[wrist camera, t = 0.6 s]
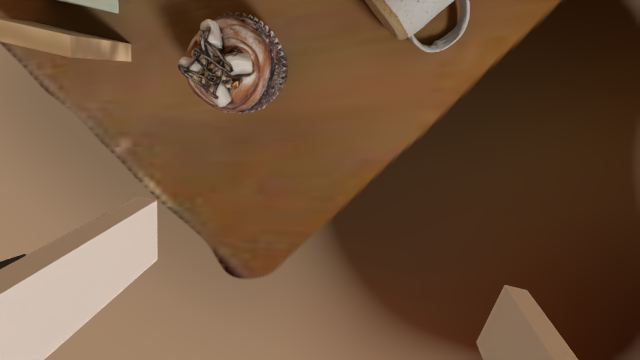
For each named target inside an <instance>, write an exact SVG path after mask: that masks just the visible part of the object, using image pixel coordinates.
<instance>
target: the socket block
mask: <svg viewBox="0 0 640 360" xmlns="http://www.w3.org/2000/svg"><path fill="white" fill-rule="evenodd" d="M58 1H62V2H67V3H71V4H76V5H81V6H85V7H90V8H94V9H99V10H104V11H108V12H113V13H117V14H119V5H118V0H58Z"/></svg>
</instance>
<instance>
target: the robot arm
mask: <svg viewBox="0 0 640 360" xmlns="http://www.w3.org/2000/svg"><path fill="white" fill-rule="evenodd" d="M156 260H157V200H154V199H149V198H145V197H141V196H137V197H135V198H133V199H132V200H130V201H128V202H126V203H124V204H122V205H120V206H118V207H117V208H115V209H113V210H111V211H109V212H107V213H105V214H103V215H102V216H100V217H98V218H96V219H94V220H92V221H90V222H88V223H86V224H85V225H83V226H81V227H79V228H77V229H75V230H73V231H72V232H70V233H68V234H66V235H64V236H62V237H60V238H58V239H56V240H54V241H53V242H51V243H49V244H47V245H45V246H43V247H41V248H39V249H38V250H36V251H34V252H32V253H30V254H28V255H26V254H23V255H20V256H17V257H14V258H11V259H7V260H5V261H1V262H0V360H44V359H45V358H46V357H48V356H49V355H50V354H51V353H52V352H53V351H54V350H56V349H57V348H58V347H59V346H60V345H61V344H62V343H63V342H64V341H66V340H67V339H68V338H69V337H70V336H71V335H73V333H75V332H76V331H77V330H78V329H79V328H80V327H82V326H83V325H84V324H85V323H86V322H87V321H88V320H89V319H91V318H92V317H93V316H94V315H95V314H96V313H97V312H99V311H100V310H101V309H102V308H103V307H104V306H105V305H106V304H108V303H109V302H110V301H111V300H112V299H113V298H114V297H116V296H117V295H118V294H119V293H120V292H121V291H122V290H124V289H125V288H126V287H127V286H128V285H129V284H130V283H131V282H132V281H134V280H135V279H136V278H137V277H138V276H139V275H140V274H141V273H143V272H144V271H145V270H146V269H147V268H148V267H150V266H151V265H152V264H153V263H154V262H155V261H156ZM476 343H477V345H478V348H479V350H480V353H481V355H482V358H483V360H578V359H577V358H576V356H575V355H574V353H573V352H572V351H571V349H570V348H569V347H568V345H567V344H566V343H565V341H564V340H563V339H562V337H561V336H560V334H559V333H558V332H557V330H556V329H555V328H554V326H553V325H552V323H551V322H550V321H549V320H548V318H547V317H546V315H545V314H544V313H543V311H542V310H541V309H540V307H539V306H538V304H537V303H536V302H535V300H534V299H533V298H532V296H531V295H530V294H529V292H528V291H527V290H523V289H519V288H515V287H511V286H507V285H505V286H504V288H503V290H502V292H501V294H500V296H499V298H498V300H497V302H496V304H495V306H494V308H493V310H492V312H491V314H490V316H489V318H488V320H487V322H486V324H485V326H484V328H483V330H482V332H481V334H480V336H479V338H478V340H477V342H476Z"/></svg>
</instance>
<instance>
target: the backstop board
mask: <svg viewBox="0 0 640 360" xmlns="http://www.w3.org/2000/svg"><path fill="white" fill-rule="evenodd" d="M0 41H2V42H6V43H11V44H15V45H19V46H24V47H28V48H32V49H37V50H41V51H45V52H50V53H54V54H58V55H63V56H67V57H71V58H86V59H101V60H116V61H131V44H129V43H124V42H120V41H116V40H111V39H107V38H102V37H98V36H93V35H89V34H84V33H80V32H75V31H71V30H66V29H62V28H58V27H53V26H49V25H44V24H40V23H35V22H30V21H24V20H18V19H12V18H6V17H0Z"/></svg>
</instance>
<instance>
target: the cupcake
mask: <svg viewBox="0 0 640 360" xmlns="http://www.w3.org/2000/svg"><path fill="white" fill-rule="evenodd" d="M178 67H179V70H180V71H181V72H182V74H184V75H185V77H186V78H187V81H188V83H189V85H190V87H191V88H192V90H193V91H194V93H195V94H196V95H197V96H198V97H200V98H201V99H202V100H204V101H205V102H206V103H208V104H209V105H211V106H212V107H214V108H216V109H218V110H221V111H223V112H228V113H231V112H234V113H237V112H238V113H247V112H248V111H250V112H253V111H255V110H257V111H258V110H259V109H260V108H263V109H264V107H265V106H266V104H268V103H270V102H271V101H272V100H273V99H275V97H276V96H277V95H278V94H279V92H280V90H281V89H282V88H283V85H284V84H285V81H286V78H287V72H288V66H287V58H286V55H285V52H284V50H283V48H282V46H281V45H280V43H279V41H278V39H277V38H276V37H275V35H274V33H273V32H272V31H270V29H269V27H268V26H265V25H264V24H263V22H262V21H261V20H260V22H259V20H258V19H257V18H256V17H255V18H253V17H252V16H251V15H250V16H246V15H245V14H244V13H243V14H242V15H240V14H239V13H238V12H237V13H236V14H235V15H233V14H232V13H231V12H229V15H225V14H222V16H220V17H219V16H217V18H214V19H212V20H211V19H206V20H204V21H203V22H202V23H201V25H200V29H199V30H198V32H197V34H196V35H195V36H194V38H193V39H192V40H191V42H190V45H189V47H188V49H187V51H186V54H185V57H182V58H181V59H180V60H179V65H178Z"/></svg>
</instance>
